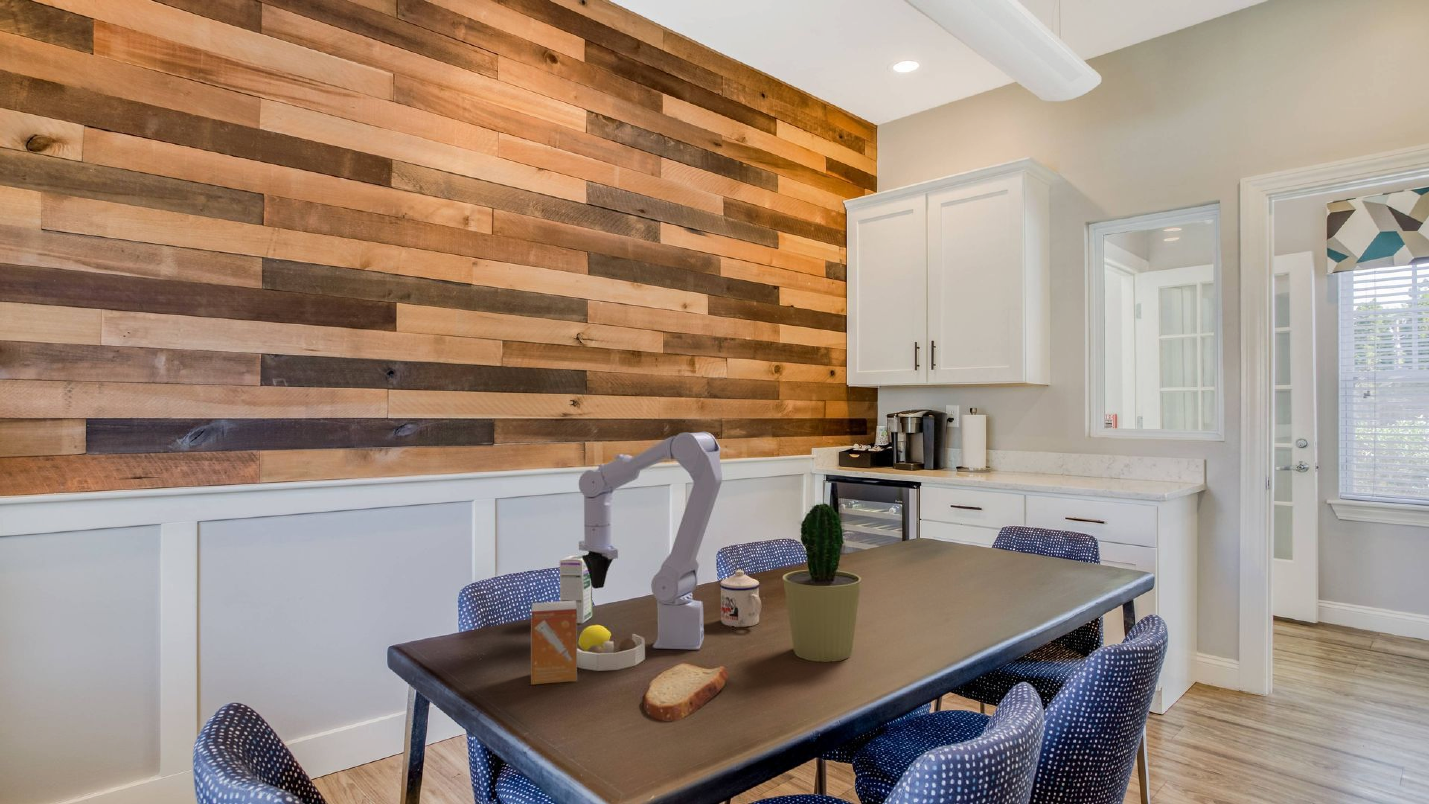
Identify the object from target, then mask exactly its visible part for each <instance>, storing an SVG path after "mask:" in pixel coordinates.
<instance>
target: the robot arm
mask: <svg viewBox="0 0 1429 804" xmlns="http://www.w3.org/2000/svg"><path fill="white" fill-rule="evenodd" d="M721 450H722V447H721V446H720V444H719V443H718V441H717V439H716V438H715V436H714V435H713V434H711V433H710V432H707V431H699V432H680V433H678V434H677V435H674V436H670V437H668V438H666V439H663V440H662V441H660V442H658V443H657V444H655V445H653V446H651V447H649V448H647V449H645V450H644V451H642V452H640V453H638V454H636V455H635V456H632V455H630V454H618V455H615V456H614V458H615V459H614V460H611V461H610V462H608V463H601V464H599V465H598V468H597V469H595V470H594V469H587V470H585V472H583V473H582V474H581V476H580V477H579V480H578V488H579V491H580V493H581V494H582V495H583V506H584V508H583V509H584V511H583V512H584V513H583V515H584V516H583V517H584V518H583V519H584V521H583V523H584V526H583V529H584V530H583V531H584V535H583V536H584V537H583V538H584V540H580V541H578V551H583V552H585V551H586V552H588V553H587V554H583V556H582V559H583V560H584V562H585V564H586V566H587V569H588V572H589V575H590V580H591V584H592V589H595V590H596V589H603V588H604V586H605V584H606V583H605V582H606V578H607V574H608V571H609V567H610V566H611V564H612V562H613V561H614V559H615V560H616V559H619V549H618V548H616V547H615V546H614V545H613V544H612V525H611V522H612V521H611V520H612V518H611V517H612V516H611V515H612V514H611V513H612V510H611V509H612V508H611V507H612V506H611V503H612V502H611V501H612V498H613V497H612V496H613V495H612V494H613V492H614V491H615V490H616V489H618V488H621V487H623V486H625V485H627V484H629V483H630V482H631V483H632V482H633V481H635V480H637V479H638V478H639V476H640V473H641V471H642V470H645V469H647V468H649V467H651V466H655V465H657V464H659V463H662V462H664V461H665V460H675V461H676V462H677V463H678V464H679V465H680V466H681V467H682V468H683V470H685V471H686V472H687V473H688V474H689V476H690V478H691V479H692V482H693V485H692V488H691V490H690V493H689V497H688V500H687V503H686V506H685V508H684V511H683V515H682V517H681V522H680V525H679V527H678V529H677V533H676V536H675V539H674V541H673V542H674V543H673V544H672V548H671V551H670V554H669V555H668V556H667V557H666V558H665V560H663V562H662V564H661V566H660V570H658V572H657V573H656V574H655V575H654V576H653V577H652V580H651V584H650V587H651V592H652V595H653V596H654V598H655V599H656V603H657V639H656V641H655V642H654V644H653V645H652V648H653V649H666V650H667V649H668V650H670V649H671V650H700V648H701V646H702V645H703V642H704V638H705V636H704V635H705V629H704V604H703V601H701V600H694V599H693V591H694V590H696V588H697V587H698V586H697V585H698V582H699V581H698V570H699V566H700V564H699V563H698V560H697V556H698V553H699V550H700V548H701V545H702V542H703V539H704V536H705V533H706V531H707V530H706V529H707V527H708V524H709V521H710V519H711V518H710V517H711V514H712V512H713V510H714V506H715V502H716V500H717V497H718V495H719V491H720V488H721V485H722V481H723V473H722V468H721V467H722V466H721V460H720V455H721Z"/></svg>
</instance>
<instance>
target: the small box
mask: <svg viewBox="0 0 1429 804" xmlns="http://www.w3.org/2000/svg"><path fill="white" fill-rule="evenodd" d="M530 622H531V623H530V684H531V685H539V684H541V685H542V684H551V683H552V684H553V683H564V682H565V683H567V682H577V680H578V669H577V668H578V667H577V648H578V623H577V605H576V601H575V600H574V601H560V600H559V601H558V600H557V601H546V602H533V603H531V619H530Z"/></svg>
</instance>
